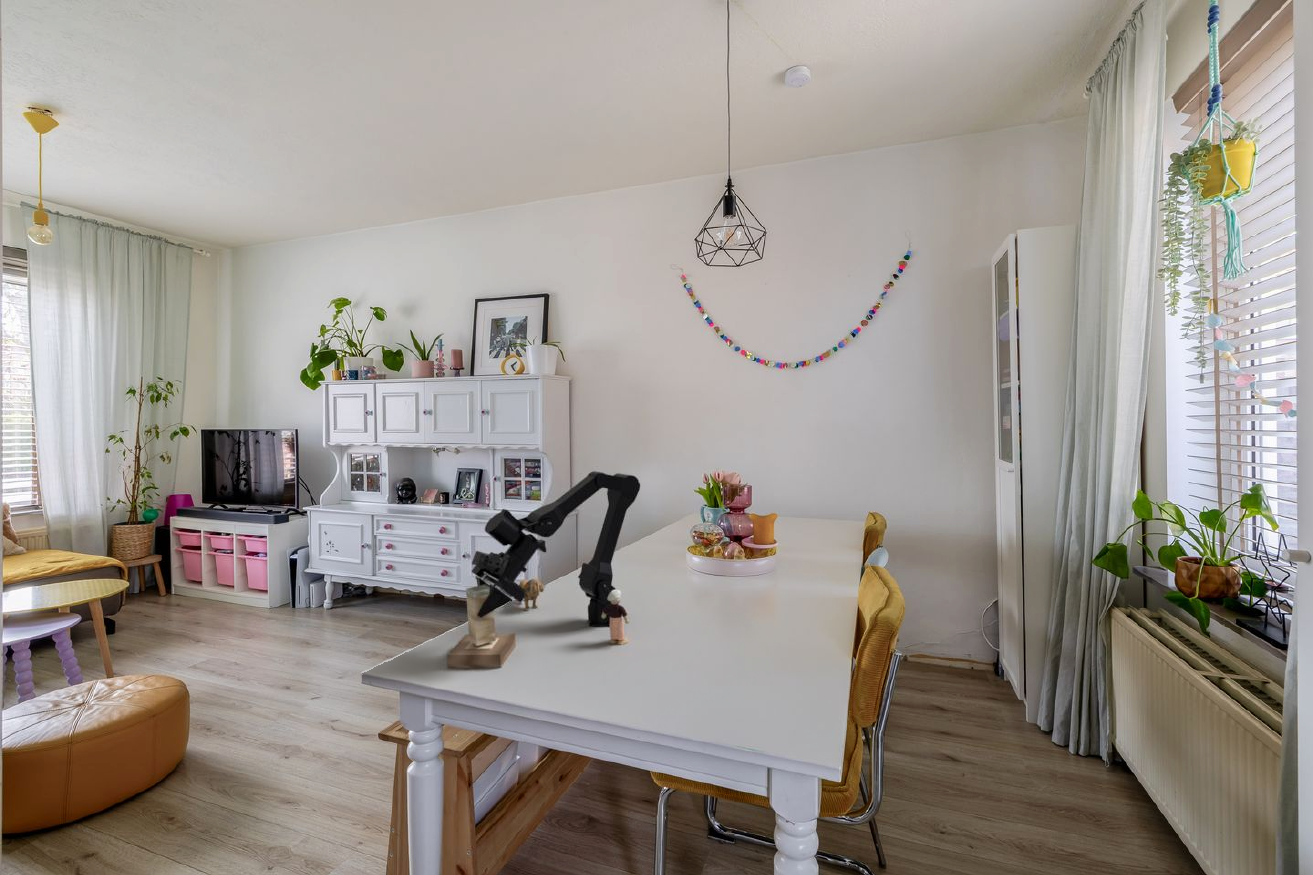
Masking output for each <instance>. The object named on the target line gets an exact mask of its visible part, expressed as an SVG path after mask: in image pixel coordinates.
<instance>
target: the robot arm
mask: <svg viewBox="0 0 1313 875" xmlns="http://www.w3.org/2000/svg"><path fill="white" fill-rule="evenodd" d="M601 489H607V492H606V495H607V503H608V506H607V510H606V514H605V517H604V520H603V523H602V527H601V531H600V534H599V536H598V541H597V542H596V547H595V550H594V554H593V556H592V558H591V560H590V561H589V562H588V563H585V562H583V563H582V565H581V568H580V573H579V574H578V577H577V578H578V579H579V582H578V585H579V586H580V589H581V590H582V591H583V592H584V594H585V596H586V597H587V598H589V603H588V605H587V617H588V619H587V621H588V622H589V623H588V625H589V627H610V614H606V617H605V618H602V617H601V616H602V613H603V609H604V608H605V607H606V606H608V605H610V604H612V603H611V602H610V601H608V599H607V598H608V595H609V593H610V592H611V591H612V590H615V589H617V588H616V587H615V586H613V585H612V583H613V576H614V575H613V568H612V561H613V558H614V555H615V552H616V547H617V545H618V544H617V543H618V540H619V537H620V534H621V530H622V527H623V523H624V520H625V516H626V513H627V510H628V509H629V508H630V507H631V506H632V505H633V503H634V502H635V501H636V499H637V496H638V495H639V493H640V489H641V483H640V480H639V479H638V477H636V475H633V474H625V473H620V472H619V473H615V474H613V475H612V474H607V473H604V472H603V471H602V472H601V471H595V470H594V471H591V472H589V473H588V474H587V476H586V477H584V478H583V479H582V480H580V481H579V482H578V483H576V484H575V485H574V486H572V488H570V489H569V490H568V491H566V492H565V493H564V494H563V495H561V496H560V497H558V498H557V499H556V500H555V501H553V502H551V503H547V504H545V505H542V506H541V507H538V508H537V509H535V510H533V511H531V512H530V513H528V515H527V516H525V517H522V518H519V519H517V518H516V517H515V516H514V515H513V514H512V513H511V511H509V510H508V509H506V508H503V509H501V511H500V512H498V513H496V514H495V515H494V516H493V517H491V518H490V519H489V520H488V521H487V523H486V525H485V527H484V532H485V533H487V534H488V535H489V536H490V537H491V538H493V539H494V540H495V541H496V542H498V543H499V544H500V545H501V546H503V547H506V546H508V545H509V547H508V548H507V549H506V551H505V552H502V551H501V552H499V553H494V552H492V551H490V553H486V552H482V551H479V550H476V551H475V553H474V556H473V559H472V561H471V565H474V567H473V568H472V570H471V573H472V574H474V575H476V576H475V580H476V585H477V586H480V585H487V586H488V587H490V593H489V595H488V597H487V599H486V600H485V602H484V604H483V605H482V607H481V609H480V611H479V612H478V614H477V615H478V616H479V617H480V618H482V617H483V616H485V615H487V614H488V613H490V612H492V611H493V610H494V611H495V610H497V609H499V608H500V607H502V606H504V605H506V604H508V603H510V602H511V603H512V602H513V599H514V600H515V601H517V602H518V603H519V602H520V603H521V602H522V603H523V601H524V598H525V596H526V592H525V590H524V589H523V588H522V587H521V586H519V584H518V583H517V582H515V581H516V580H517V578H518V577H519V576H520V574H521V573H525V574H526V572H527V570H528V568H527V567H526V566H527V564H528V563H529V561H530V560H531V559H532V558H533V556H534V555H535V554H536V552H537V550H538V551H540V552H542V553H547V547H546V540H544V539H538V538H536V536H538V537H542V538H550V537H552V536H553V535H555V533H556V532H558V530H559V529H561V527H562V525H563V524H564V522H565V519H566V518H567V517H568V516H569V515H570V514H571V513H572V512H574V511H575V510H576V509H578V508H579V507H580V506H582V504H583V503H585V502H586V501H587V500H588V499H590V498H591V497H592V496H594V495H595V494H596V493H597V492H599V490H601ZM523 531H525V532H527V533H529V534H526V533H525V532H523ZM534 535H536V536H534ZM512 598H513V599H512Z"/></svg>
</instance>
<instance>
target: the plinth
mask: <svg viewBox="0 0 1313 875" xmlns="http://www.w3.org/2000/svg"><path fill="white" fill-rule="evenodd" d="M495 638H496V641H493V642H489V643H485V644H482V645H478V646H476V645H475V644H474V643H472V642H471V641H470V640H469V633H468V634H465V635H464V636H463V637H461V639H460V640H459V641H458V643H456V645H454V646H453V648H452V649H451V650H450V651H448V654H446V662H447V669H502V667H503V665H504V664H505V663H506V661H507V660H508V658H509V657H510V656H511V654H512V653H513V651H514V650H515V648H516V644H517V643H516V633H495ZM504 662H505V663H504Z"/></svg>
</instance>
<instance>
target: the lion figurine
mask: <svg viewBox="0 0 1313 875" xmlns="http://www.w3.org/2000/svg"><path fill="white" fill-rule="evenodd" d="M518 585H519V586H521V587H522V588H523V589H524V590H525V592H526V596H525V598H524V599H523V601H524V605H525V609H524V611H525V612H529V611H530V606H529V601H532V606H531V607H532V608H533V609H538V608H539V606H538V605H536V604H537V599H538V597H539V596H540V593H544V590H545V589H546V585H544V584H543V583H542V582H540V579H539V578H532V579H530V580H528V579H523V580H521V581H519V584H518ZM523 601H522V602H521V603H520V602H519V601H518V603H517V605H518V606H520V605H523Z"/></svg>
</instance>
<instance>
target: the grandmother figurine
mask: <svg viewBox="0 0 1313 875" xmlns="http://www.w3.org/2000/svg"><path fill="white" fill-rule="evenodd" d="M607 599H608V601H610V602H611V603H612V604H610V605H608V606H606V607H605V608H604V609H603V613H602V616H601V617H602V618H605V617H606V614H610V626H609V634H610V640H609V644H616V643H618V645H619V646H620V645H621V646H622V645H625V644H628V643H629V640H628V639H627V638H626V637H625V631H624V630H625V629H624V628H625V627H624V623H625V624H630V620H629V616H628V613H627V611H626V609H625V607H623V606H622V605H620V603H621V602H622V601H621V600H622V592H621V590H619V589H617V588H616V589H615V590H612V591H611V592H610V593H609V595H608V598H607ZM617 641H618V642H617ZM615 642H616V643H615Z"/></svg>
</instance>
